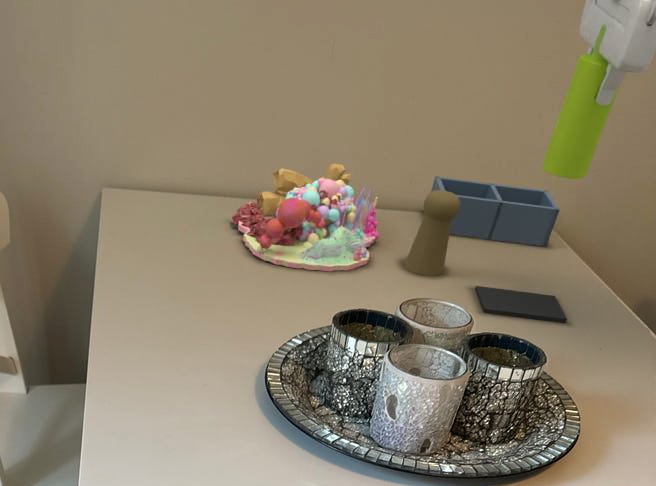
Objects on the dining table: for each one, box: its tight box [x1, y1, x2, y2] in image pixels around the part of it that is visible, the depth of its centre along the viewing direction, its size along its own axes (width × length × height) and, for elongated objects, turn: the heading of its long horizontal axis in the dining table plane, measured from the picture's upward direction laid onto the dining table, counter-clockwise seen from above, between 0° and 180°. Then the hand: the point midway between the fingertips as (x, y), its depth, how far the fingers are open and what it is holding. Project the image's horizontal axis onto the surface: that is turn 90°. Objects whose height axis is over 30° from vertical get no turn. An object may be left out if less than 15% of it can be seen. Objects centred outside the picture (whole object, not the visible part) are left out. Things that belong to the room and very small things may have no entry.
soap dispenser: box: [541, 25, 622, 180], centre depth 116 cm, size 6×7×20 cm
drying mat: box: [474, 285, 568, 324], centre depth 134 cm, size 12×8×1 cm, turn 86°
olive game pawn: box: [404, 190, 460, 277], centre depth 137 cm, size 6×6×11 cm
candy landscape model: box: [231, 163, 380, 272], centre depth 142 cm, size 25×24×9 cm
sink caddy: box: [430, 175, 561, 248], centre depth 154 cm, size 19×9×6 cm, turn 86°
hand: (594, 95), depth 117 cm, fingers closed on soap dispenser, 6 cm apart
